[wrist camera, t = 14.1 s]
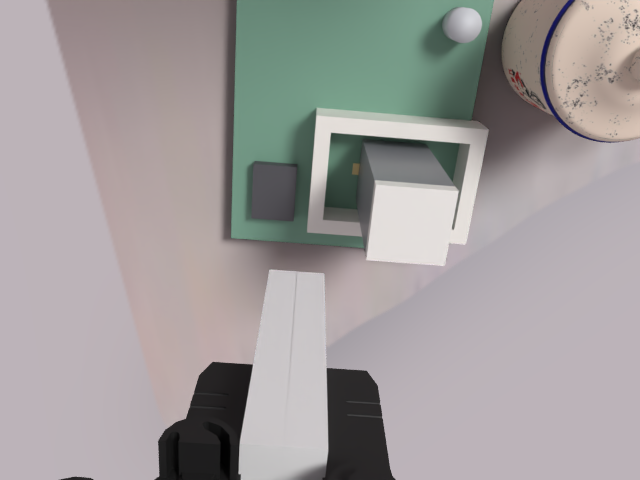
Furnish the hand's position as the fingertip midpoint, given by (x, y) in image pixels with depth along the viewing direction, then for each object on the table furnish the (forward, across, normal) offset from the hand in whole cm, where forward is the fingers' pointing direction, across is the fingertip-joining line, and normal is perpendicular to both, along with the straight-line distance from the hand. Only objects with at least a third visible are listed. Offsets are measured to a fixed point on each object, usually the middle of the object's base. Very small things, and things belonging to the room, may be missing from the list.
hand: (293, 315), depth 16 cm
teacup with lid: (+27, +18, +6) cm, 33 cm away
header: (+25, +6, -3) cm, 26 cm away
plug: (+25, +6, -3) cm, 26 cm away
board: (+26, +3, 0) cm, 27 cm away
